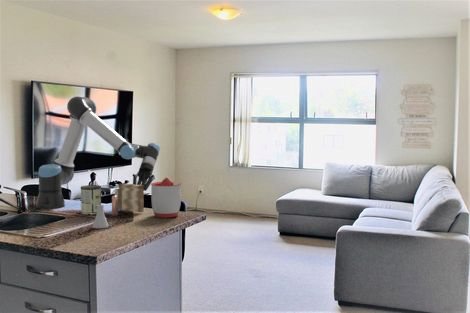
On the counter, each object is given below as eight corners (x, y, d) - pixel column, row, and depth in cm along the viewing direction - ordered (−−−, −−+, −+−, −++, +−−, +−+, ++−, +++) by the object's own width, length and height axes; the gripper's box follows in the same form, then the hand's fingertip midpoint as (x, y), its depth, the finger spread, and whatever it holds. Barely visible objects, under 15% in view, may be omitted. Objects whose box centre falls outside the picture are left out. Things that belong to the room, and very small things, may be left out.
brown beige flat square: (118, 209, 247) (118, 183, 246) (121, 208, 249) (121, 183, 248) (140, 212, 241) (140, 185, 240) (143, 211, 243) (143, 185, 242)
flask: (91, 226, 212) (91, 204, 211) (107, 225, 215) (107, 203, 214) (93, 229, 205) (93, 207, 204) (109, 228, 208) (109, 206, 207)
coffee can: (85, 210, 249) (85, 184, 248) (104, 211, 248) (104, 185, 247) (77, 214, 238) (77, 187, 237) (96, 214, 237) (96, 187, 236)
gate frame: (115, 210, 251) (115, 188, 250) (120, 210, 251) (120, 188, 250) (110, 215, 236) (110, 192, 235) (116, 215, 236) (116, 192, 235)
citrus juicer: (190, 215, 239) (190, 177, 238) (163, 220, 226) (164, 180, 225) (170, 211, 250) (170, 175, 248) (144, 215, 237) (144, 177, 235)
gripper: (159, 170, 262) (149, 204, 247) (138, 170, 265) (126, 203, 250) (156, 162, 257) (145, 196, 242) (134, 161, 259) (122, 195, 244)
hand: (135, 200), depth 246 cm, fingers closed
